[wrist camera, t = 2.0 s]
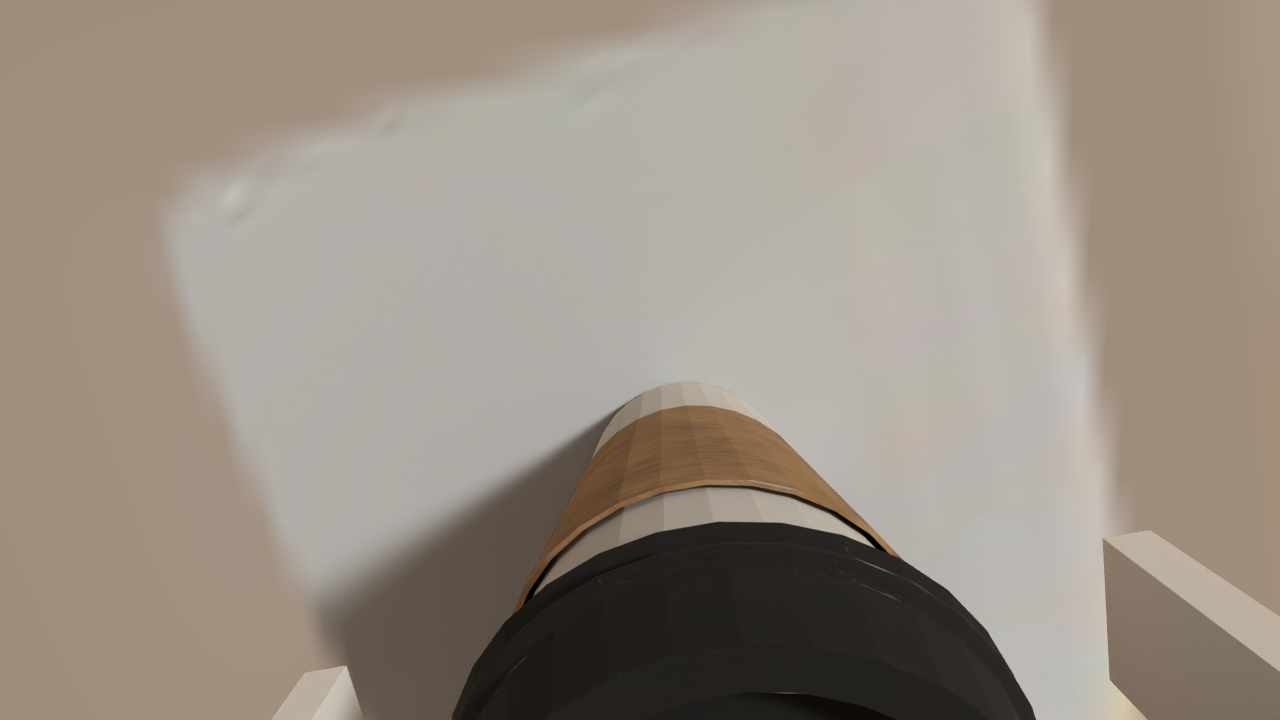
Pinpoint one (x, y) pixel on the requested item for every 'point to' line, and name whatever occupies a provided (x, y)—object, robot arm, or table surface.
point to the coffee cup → (727, 593)
